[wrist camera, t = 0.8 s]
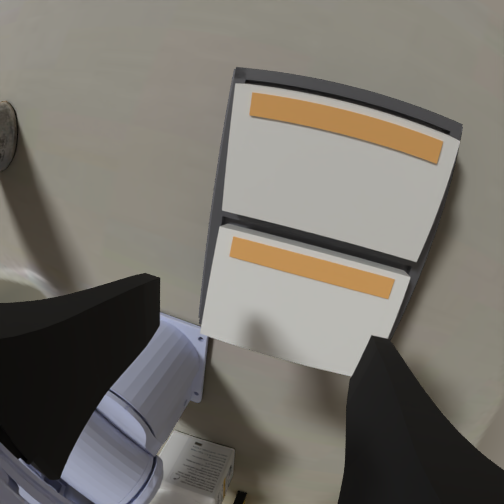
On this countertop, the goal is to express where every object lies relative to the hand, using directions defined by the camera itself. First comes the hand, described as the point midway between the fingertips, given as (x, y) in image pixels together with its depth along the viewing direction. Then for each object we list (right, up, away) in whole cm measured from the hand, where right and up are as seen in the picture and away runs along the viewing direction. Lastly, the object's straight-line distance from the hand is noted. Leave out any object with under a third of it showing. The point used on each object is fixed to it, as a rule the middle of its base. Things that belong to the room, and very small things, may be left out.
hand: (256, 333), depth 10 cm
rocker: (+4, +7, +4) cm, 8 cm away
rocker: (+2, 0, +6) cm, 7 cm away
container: (-6, -22, +22) cm, 32 cm away
